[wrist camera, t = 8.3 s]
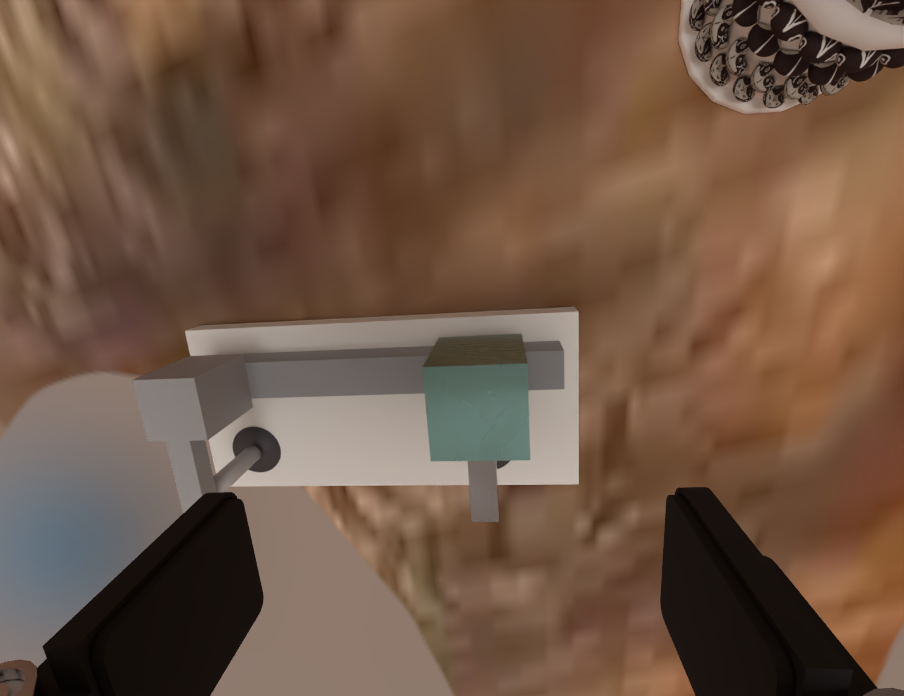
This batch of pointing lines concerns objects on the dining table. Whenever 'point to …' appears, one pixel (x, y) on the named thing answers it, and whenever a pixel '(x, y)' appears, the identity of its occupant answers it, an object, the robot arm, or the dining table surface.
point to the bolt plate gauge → (347, 402)
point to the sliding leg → (478, 410)
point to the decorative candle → (786, 48)
